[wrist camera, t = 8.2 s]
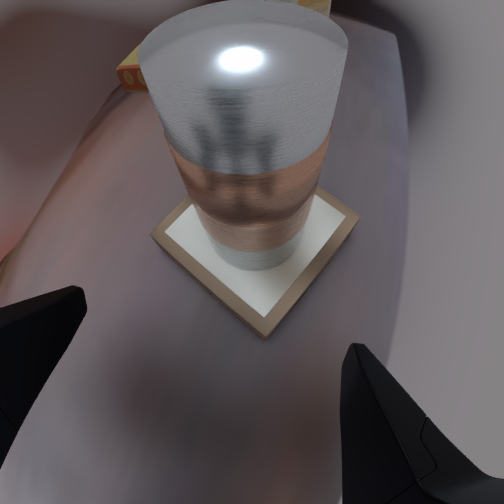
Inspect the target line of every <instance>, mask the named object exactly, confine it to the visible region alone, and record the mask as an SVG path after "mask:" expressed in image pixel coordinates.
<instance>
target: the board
mask: <svg viewBox="0 0 504 504" xmlns="http://www.w3.org/2000/svg"><path fill="white" fill-rule="evenodd" d="M360 217H361V216H360V215H358V214H357V213H355V212H354V211H353V210H351V209H350V208H349V207H347V206H346V205H344V204H343V203H342V202H340V201H339V200H337V199H336V198H335V197H333V196H332V195H330V194H329V193H328V192H326V191H325V190H323V189H322V188H320V187H319V186H317V188H316V191H315V195H314V199H313V202H312V206H311V209H310V213H309V216H308V219H307V221H306V224H305V227H304V231H303V234H302V238H301V241H300V243H299V246H298V247H297V249H296V251H295V252H294V253H293V255H292V256H291V257H290V258H289V259H287V260H286V261H285V262H283V263H282V264H280V265H278V266H276V267H274V268H271V269H267V270H262V271H247V270H242V269H239V268H236V267H233V266H232V265H230V264H228V263H226V262H225V261H224V260H222V259H221V258H220V257H219V256H218V254H217V253H216V252H215V251H214V249H213V247H212V245H211V243H210V241H209V238H208V236H207V234H206V231H205V229H204V227H203V226H202V224H201V222H200V220H199V217H198V215H197V213H196V210H195V208H194V206H193V203H192V201H191V199H190V196H189V195H188V196H187V197H186V198H185V199H184V200H183V201H182V202H181V203H180V204H179V205H178V206H177V207H176V208H175V209H174V210H173V211H172V212H171V213H170V214H169V215H168V216H167V217H166V218H165V219H164V220H163V221H162V222H161V223H160V224H159V225H158V226H157V227H156V228H155V229H154V230H153V231H152V232H151V233H150V234H149V235H150V236H151V237H152V238H153V240H154V241H155V242H156V243H157V244H158V246H159V247H160V248H161V249H162V250H163V251H164V252H165V253H166V254H167V255H168V256H169V257H170V258H171V259H172V260H173V261H174V262H175V263H177V264H178V265H179V266H180V267H181V268H182V269H183V270H184V271H185V272H186V273H188V274H189V275H190V276H191V277H192V278H193V279H194V280H195V281H196V282H198V283H199V284H200V285H201V286H202V287H203V288H204V289H205V290H207V291H208V292H209V293H210V294H211V295H212V296H213V297H214V298H216V299H217V300H218V301H219V302H220V303H221V304H223V305H224V306H225V307H226V308H227V309H228V310H229V311H231V312H232V313H233V314H234V315H235V316H237V317H238V318H239V319H240V320H241V321H242V322H244V323H245V324H246V325H247V326H248V327H250V328H251V329H252V330H253V331H254V332H256V333H257V334H258V335H259V336H260V337H262V338H263V339H264V340H266V339H267V338H268V337H269V336H270V334H271V333H272V332H273V331H274V330H275V329H276V327H277V326H278V325H279V324H280V323H281V321H282V320H283V319H284V318H285V317H286V315H287V314H288V313H289V312H290V311H291V309H292V308H293V307H294V306H295V304H296V303H297V302H298V301H299V300H300V298H301V297H302V296H303V295H304V293H305V292H306V291H307V290H308V288H309V287H310V286H311V285H312V283H313V282H314V281H315V280H316V278H317V277H318V276H319V274H320V273H321V272H322V271H323V269H324V268H325V267H326V265H327V264H328V263H329V261H330V260H331V259H332V258H333V256H334V255H335V254H336V252H337V251H338V250H339V248H340V247H341V246H342V244H343V243H344V242H345V240H346V239H347V238H348V236H349V235H350V233H351V232H352V230H353V229H354V227H355V225H356V224H357V222H358V221H359V219H360Z"/></svg>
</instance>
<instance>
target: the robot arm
mask: <svg viewBox="0 0 504 504" xmlns="http://www.w3.org/2000/svg"><path fill="white" fill-rule="evenodd" d="M86 312H87V304H86V299H85V294H84V290H83V289H82V288H81V287H78V286H74V285H72V286H69V287H65V288H62V289H59V290H56V291H52V292H49V293H46V294H43V295H39V296H36V297H33V298H30V299H27V300H24V301H20V302H17V303H14V304H11V305H8V306H5V307H2V308H0V469H1V467H2V464H3V462H4V460H5V458H6V456H7V454H8V451H9V449H10V447H11V445H12V443H13V441H14V439H15V437H16V435H17V433H18V431H19V429H20V427H21V425H22V423H23V422H24V420H25V418H26V416H27V414H28V412H29V411H30V409H31V407H32V405H33V403H34V402H35V400H36V398H37V396H38V395H39V393H40V391H41V390H42V388H43V386H44V384H45V383H46V381H47V379H48V378H49V376H50V375H51V373H52V371H53V370H54V368H55V367H56V365H57V363H58V362H59V360H60V359H61V357H62V355H63V354H64V352H65V351H66V349H67V348H68V346H69V344H70V343H71V341H72V339H73V337H74V335H75V333H76V331H77V329H78V328H79V326H80V324H81V322H82V320H83V318H84V317H85V315H86ZM340 427H341V449H342V504H504V479H501V478H495V477H492V476H489V475H487V474H485V473H484V472H482V471H481V470H480V469H479V468H478V467H476V466H475V465H474V464H473V463H472V462H471V461H470V460H469V459H468V458H467V457H466V456H465V455H464V454H463V453H462V452H461V451H460V450H459V449H457V447H456V446H454V444H453V443H452V442H450V440H448V438H447V437H445V435H444V434H443V433H442V432H441V431H440V430H439V429H438V428H437V427H436V425H434V423H433V422H432V421H431V420H430V418H429V417H426V414H425V413H424V412H423V410H422V409H421V408H420V407H419V406H418V405H417V403H416V402H415V401H414V400H413V399H412V398H411V397H410V395H409V394H408V393H407V392H406V391H405V390H404V389H403V387H402V386H401V385H400V384H399V383H398V382H397V381H396V379H395V378H394V377H393V376H392V375H391V374H390V373H389V372H388V370H387V369H386V368H385V367H384V366H383V365H382V364H381V362H380V361H379V360H378V359H377V358H376V357H375V356H374V355H373V353H372V352H371V351H370V350H369V349H368V348H367V347H366V346H365V345H364V344H359V343H352V344H351V345H350V346H349V348H348V351H347V353H346V356H345V358H344V361H343V364H342V372H341V395H340Z"/></svg>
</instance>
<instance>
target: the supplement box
mask: <svg viewBox="0 0 504 504" xmlns="http://www.w3.org/2000/svg"><path fill="white" fill-rule="evenodd" d="M274 1H282V2H287V3H292V4H296V5H300V6H303V7H306V8H309V9H311V10H314V11H316V12H319V13H320V14H322V15H324V16H326V17H328V18H329V14H330V6H331V0H274Z"/></svg>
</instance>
